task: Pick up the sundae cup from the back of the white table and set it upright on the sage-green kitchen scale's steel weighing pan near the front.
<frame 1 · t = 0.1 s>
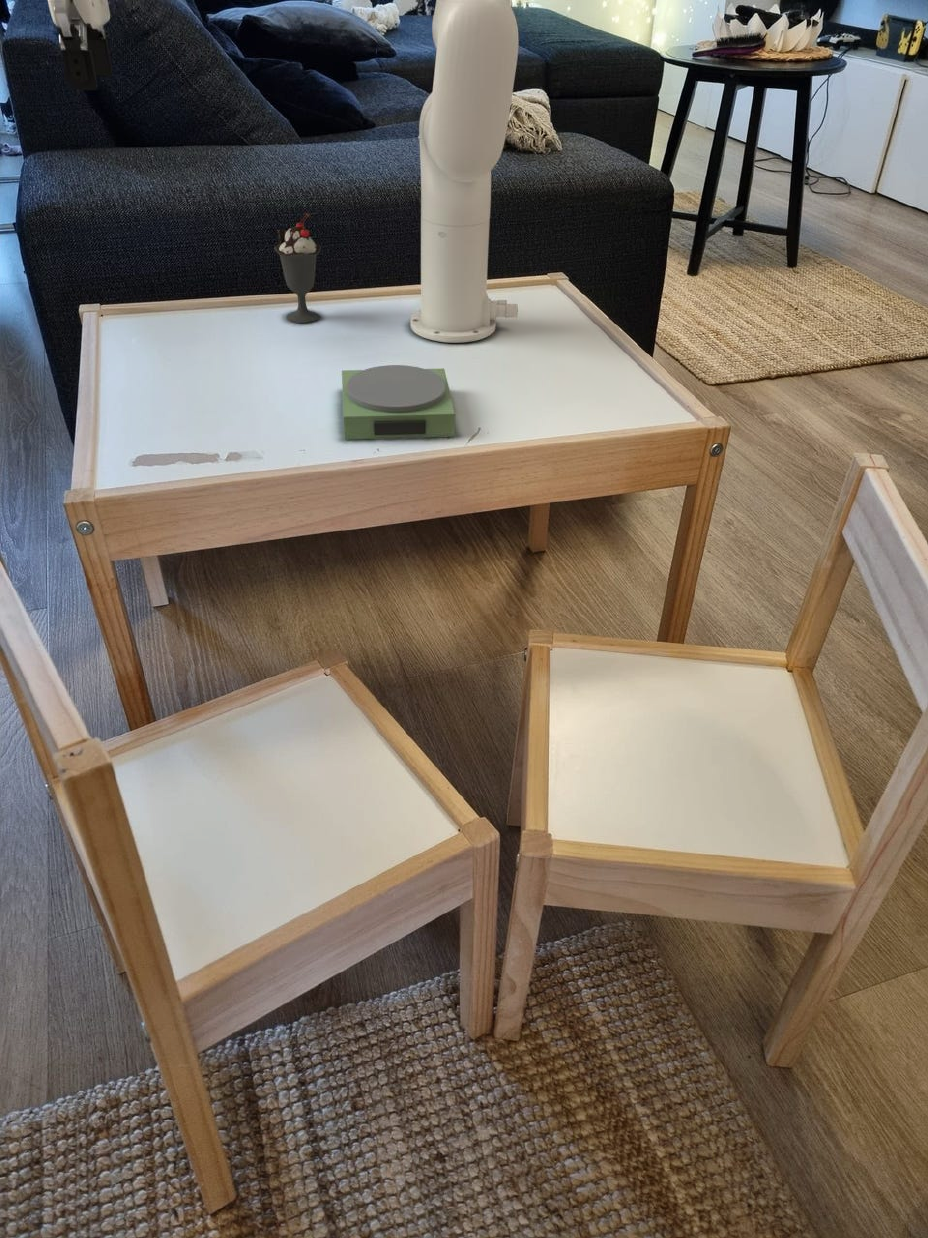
hand: (91, 82, 112), 31 cm above the table, tool pointing down, fingers open, 9 cm apart
scale: (396, 413, 114), on the table
sundae: (303, 318, 138), on the table
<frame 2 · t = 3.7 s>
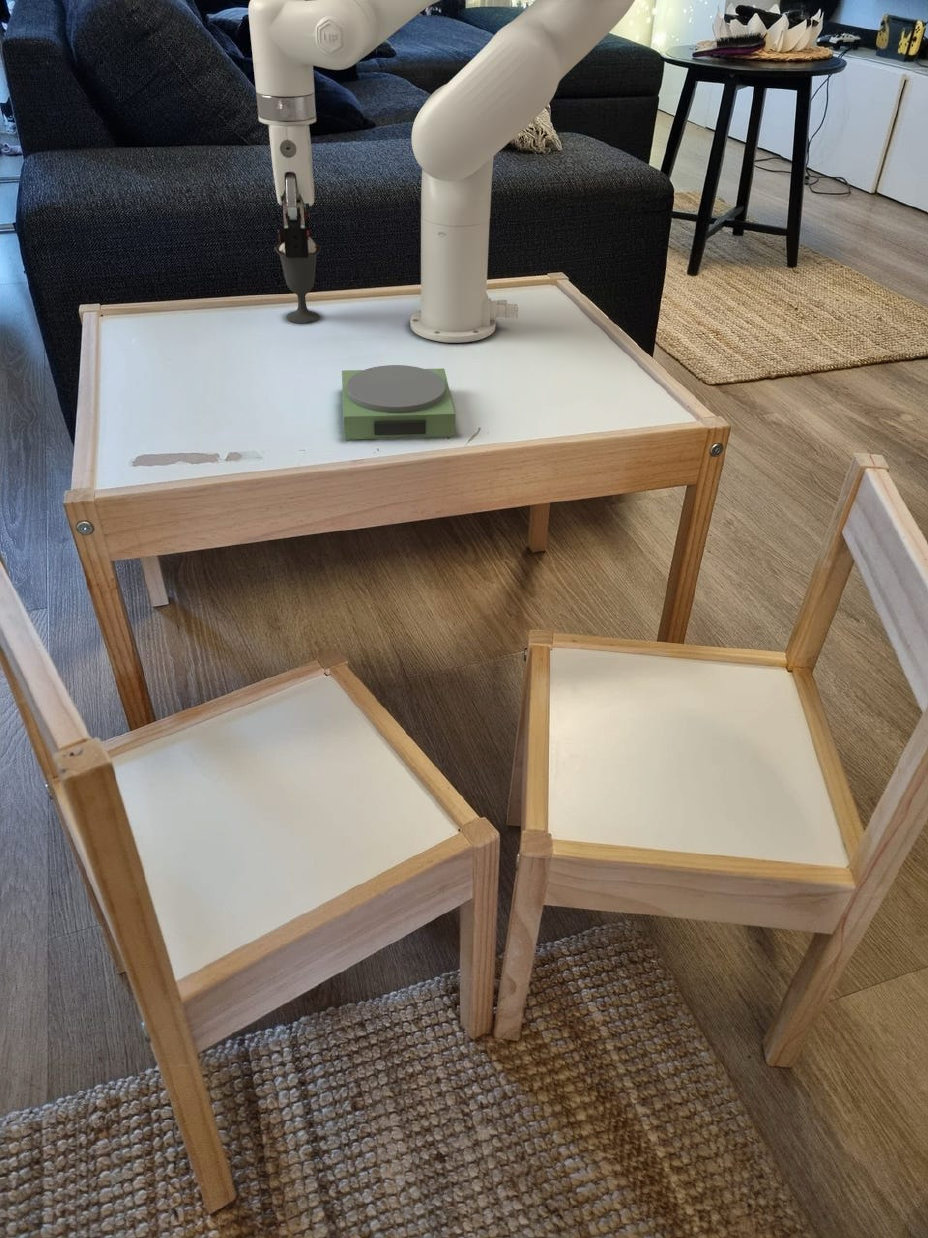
hand: (297, 247, 131), 10 cm above the table, tool pointing down, fingers closed on sundae, 6 cm apart
sundae: (303, 318, 138), on the table, touching gripper
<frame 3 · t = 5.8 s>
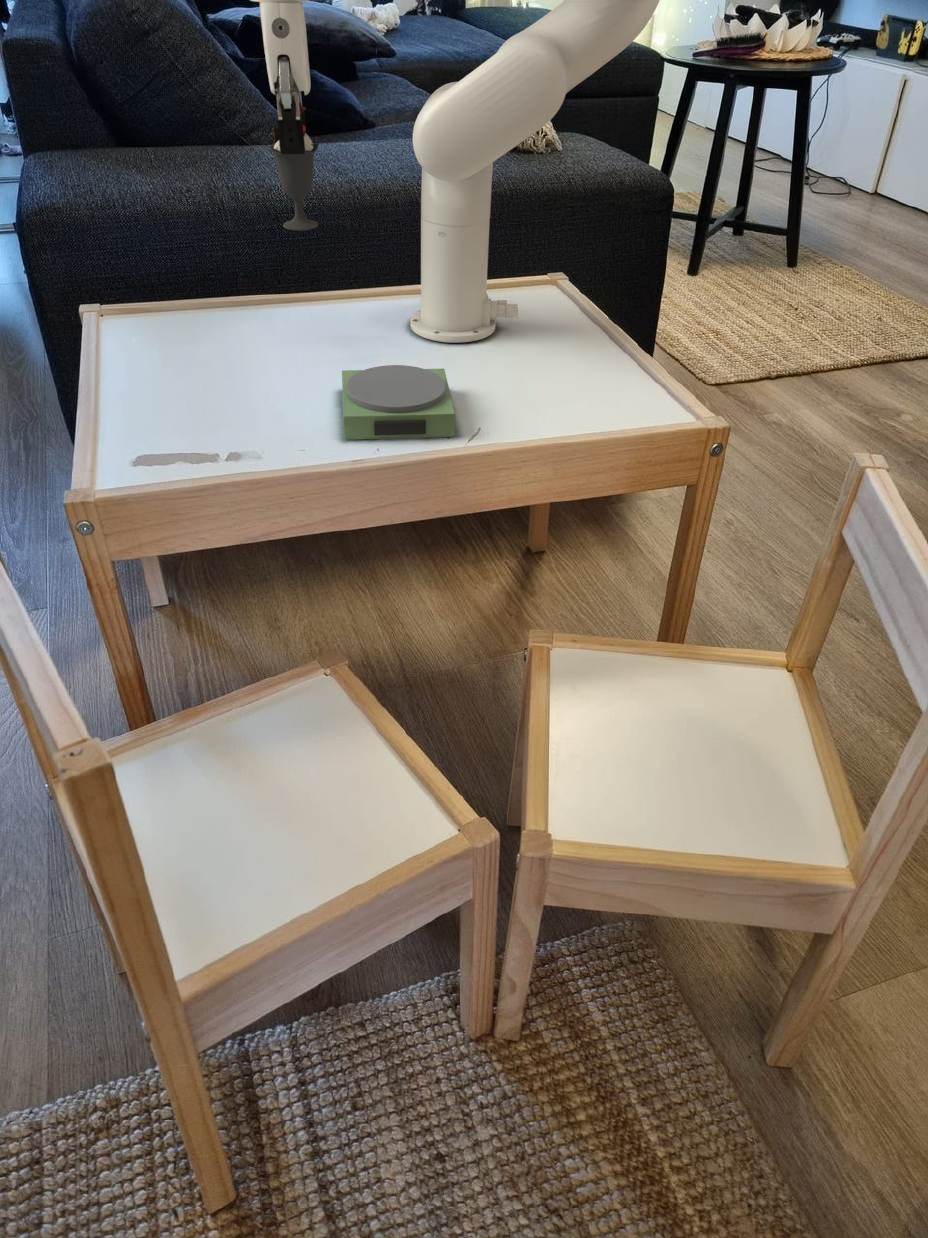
hand: (293, 146, 123), 23 cm above the table, tool pointing down, fingers closed on sundae, 6 cm apart
sundae: (301, 226, 129), point 13 cm above the table, touching gripper
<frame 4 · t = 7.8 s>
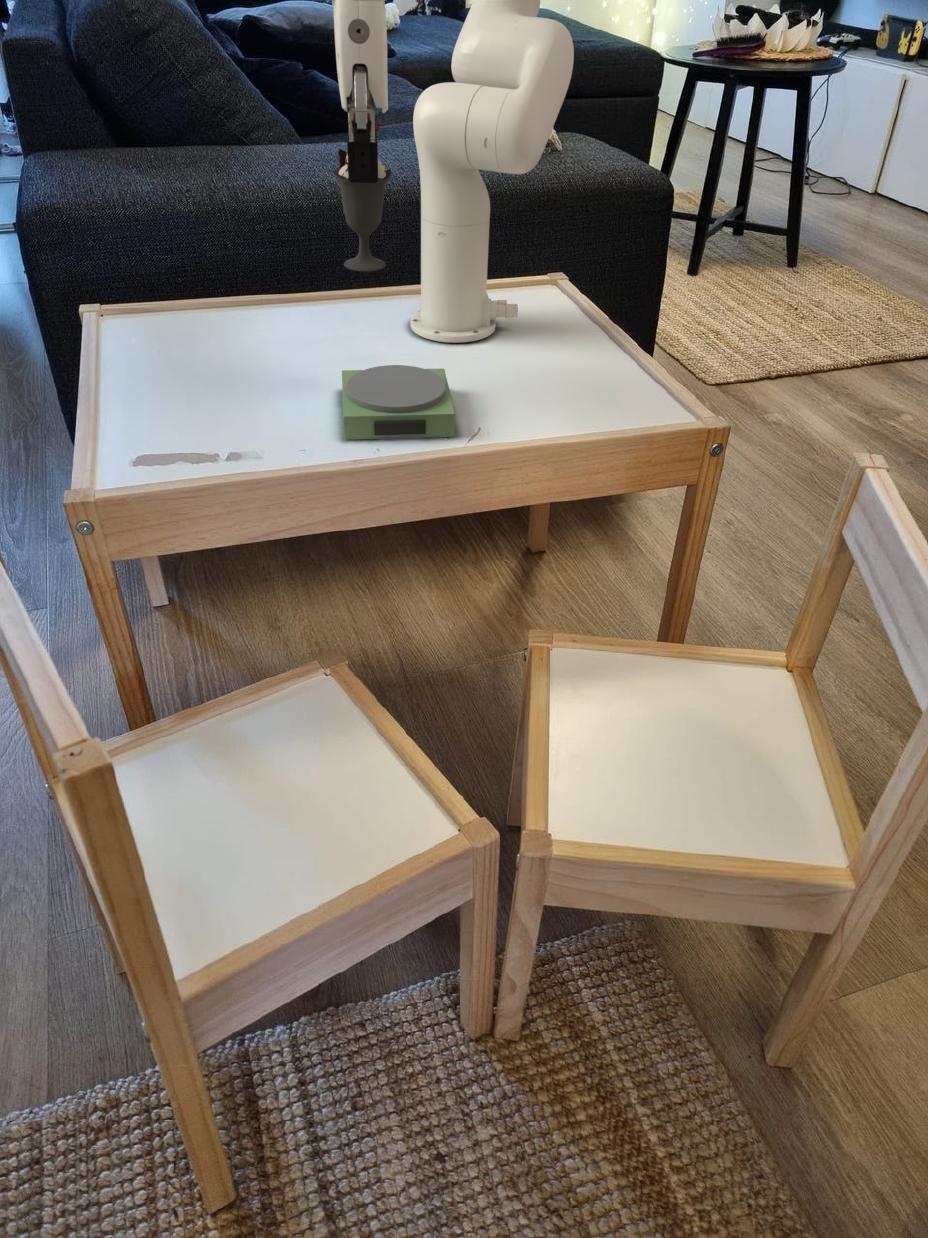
hand: (363, 172, 103), 26 cm above the table, tool pointing down, fingers closed on sundae, 6 cm apart
sundae: (365, 266, 109), point 16 cm above the table, touching gripper
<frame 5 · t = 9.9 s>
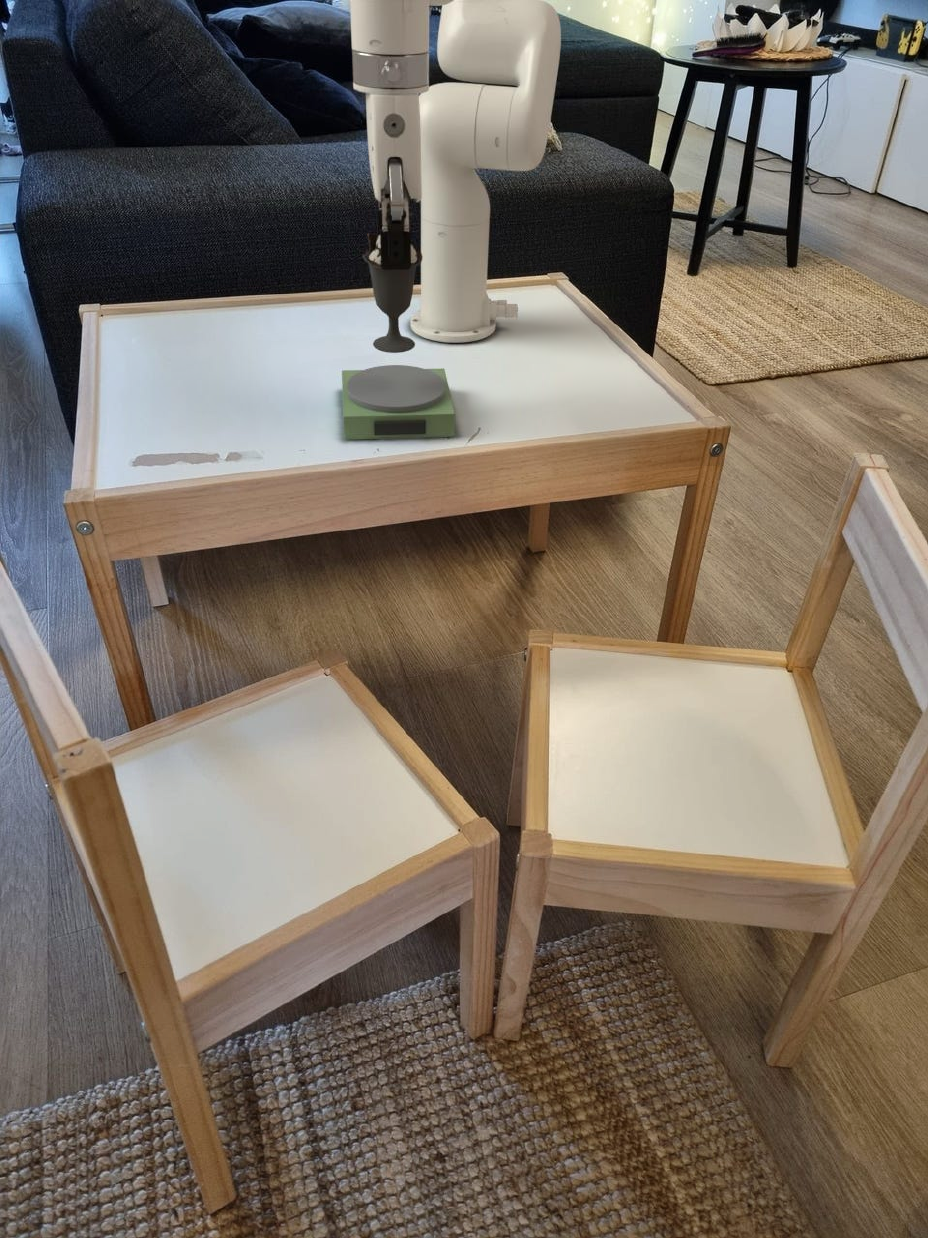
hand: (394, 256, 102), 19 cm above the table, tool pointing down, fingers closed on sundae, 6 cm apart
sundae: (394, 346, 108), point 9 cm above the table, touching gripper
when the fingers open (14 cm above the table, at t = 11.7 s): sundae stays where it is, resting on scale.
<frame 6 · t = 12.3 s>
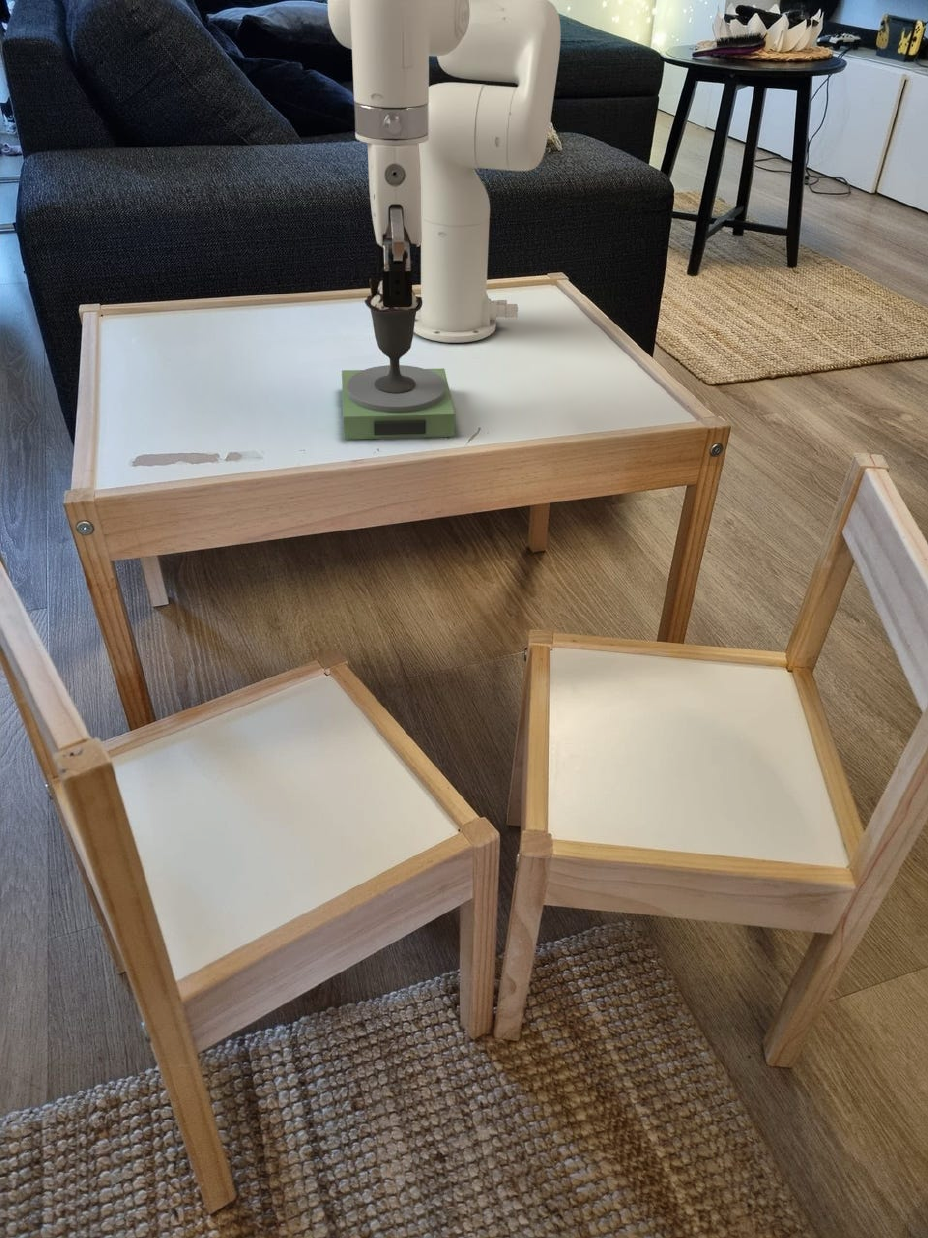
hand: (394, 290, 104), 15 cm above the table, tool pointing down, fingers open, 9 cm apart
sundae: (395, 386, 111), point 4 cm above the table, touching scale
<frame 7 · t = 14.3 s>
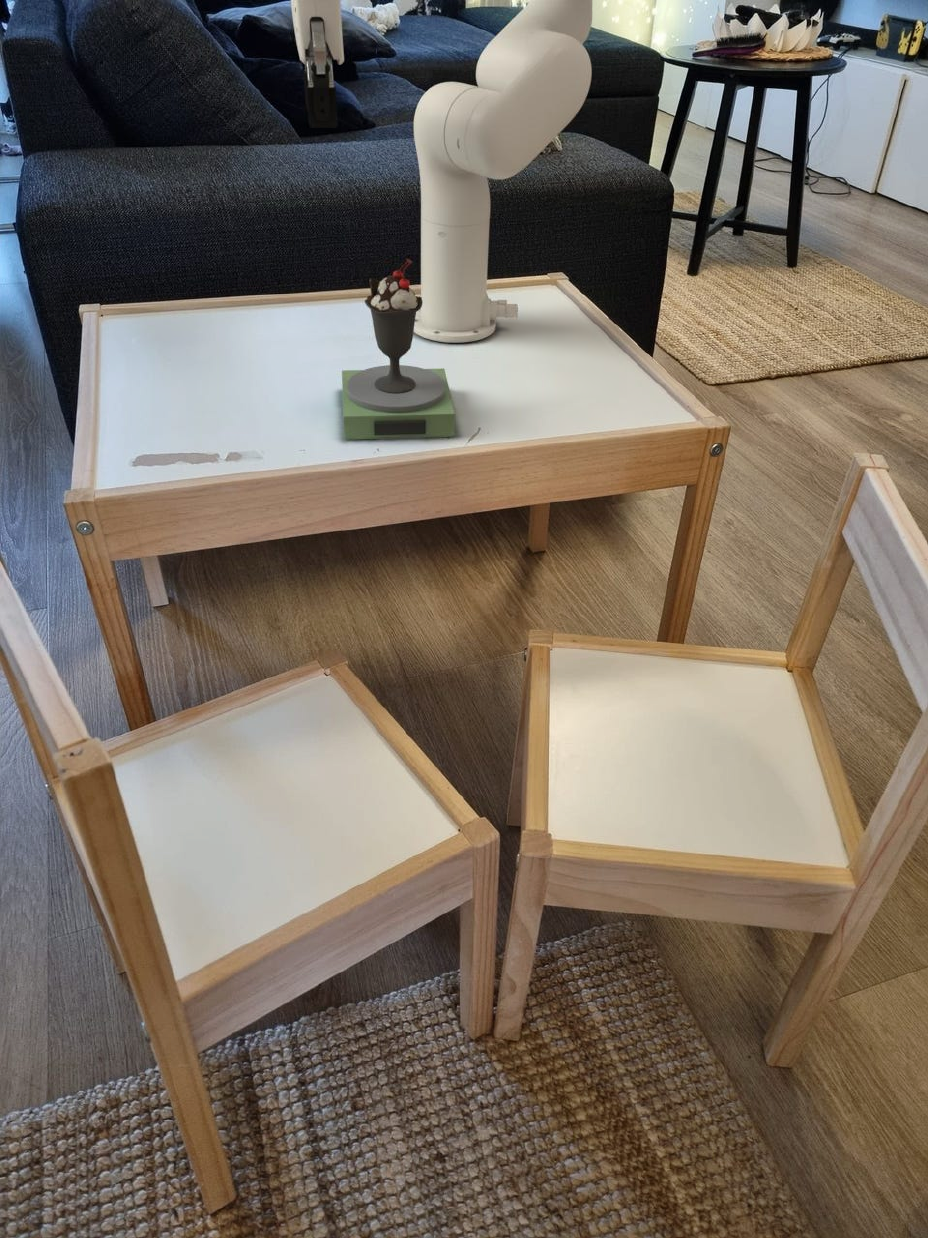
hand: (321, 118, 108), 29 cm above the table, tool pointing down, fingers open, 9 cm apart
nothing on the table moved.
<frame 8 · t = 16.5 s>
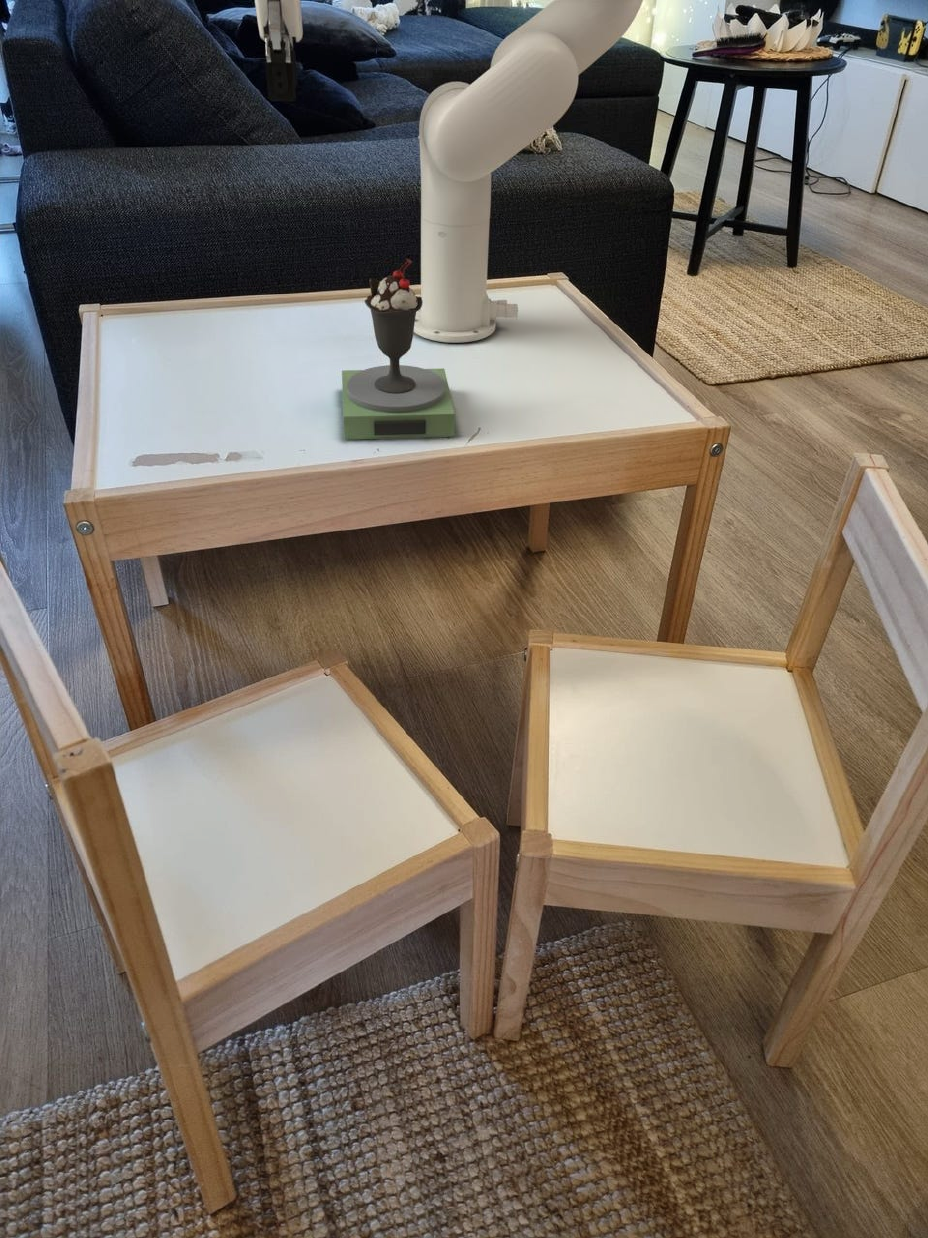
hand: (283, 93, 115), 30 cm above the table, tool pointing down, fingers open, 9 cm apart
nothing on the table moved.
at the end: sundae inside the target area on the scale (0.1 cm from its centre), point 3.6 cm above the scale's base; sundae tilted 0°; the gripper is holding nothing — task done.
